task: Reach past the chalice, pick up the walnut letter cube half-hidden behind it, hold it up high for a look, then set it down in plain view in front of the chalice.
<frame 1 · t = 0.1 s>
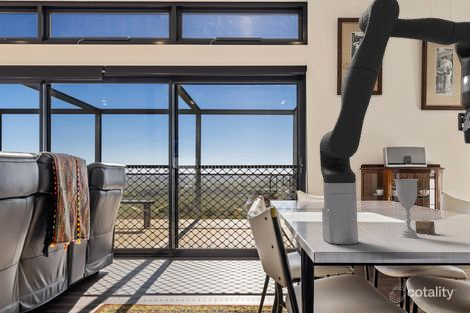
walnut cube: (425, 233, 102), on the table
chalice: (408, 237, 97), on the table
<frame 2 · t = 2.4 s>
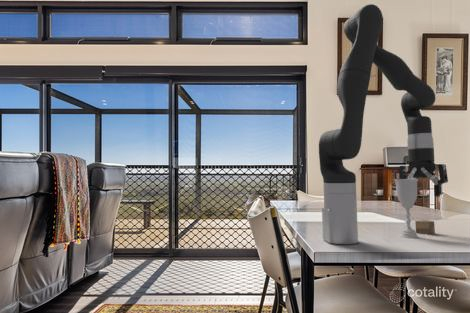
hand: (423, 196, 103), 12 cm above the table, fingers open, 8 cm apart
nothing on the table moved.
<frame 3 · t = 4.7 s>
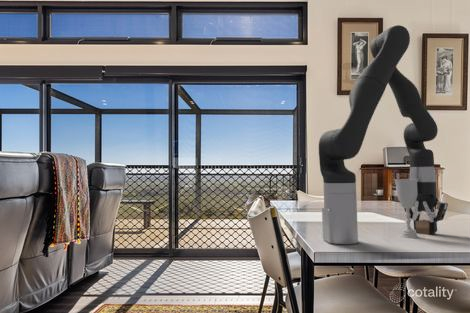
hand: (425, 232, 102), 0 cm above the table, fingers closed on walnut cube, 4 cm apart
walnut cube: (425, 233, 102), on the table, touching gripper
everything else where it was.
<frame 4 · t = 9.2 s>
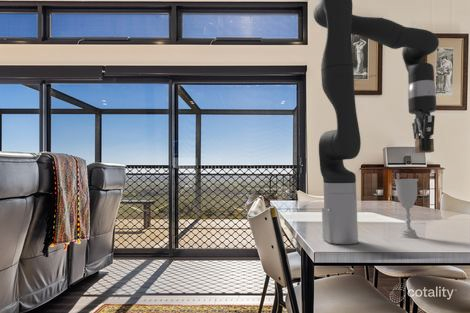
hand: (423, 151, 97), 27 cm above the table, fingers closed on walnut cube, 4 cm apart
walnut cube: (424, 152, 97), point 26 cm above the table, touching gripper
everything else where it was.
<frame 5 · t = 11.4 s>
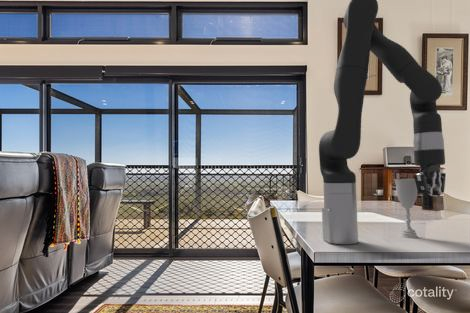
hand: (432, 208, 89), 10 cm above the table, fingers closed on walnut cube, 4 cm apart
walnut cube: (433, 209, 88), point 9 cm above the table, touching gripper
everything else where it was.
when the fingers open (2 cm above the table, at t = 13.6 s): walnut cube drops 1 cm, on the table.
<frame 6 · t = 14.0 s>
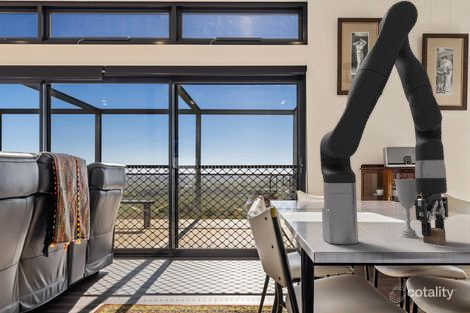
hand: (433, 234, 88), 2 cm above the table, fingers open, 7 cm apart
walnut cube: (434, 243, 88), on the table
everything else where it was.
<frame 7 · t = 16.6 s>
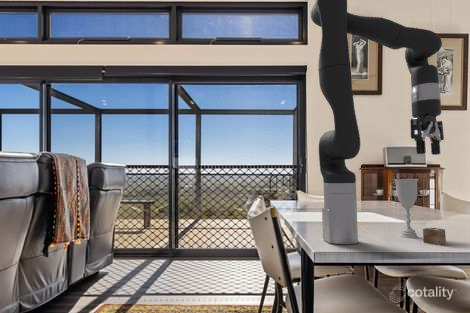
hand: (428, 154, 92), 25 cm above the table, fingers open, 8 cm apart
nothing on the table moved.
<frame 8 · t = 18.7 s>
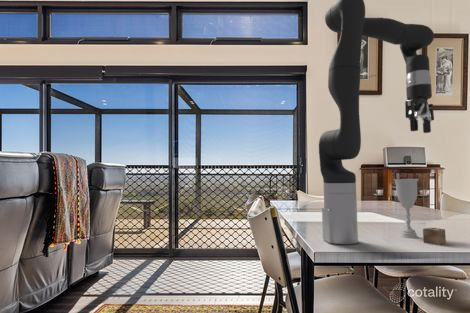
hand: (420, 131, 107), 34 cm above the table, fingers open, 8 cm apart
nothing on the table moved.
at the end: walnut cube 0.1 cm from the target spot, on the table; walnut cube tilted 0°; chalice moved 0.2 cm from its start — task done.
